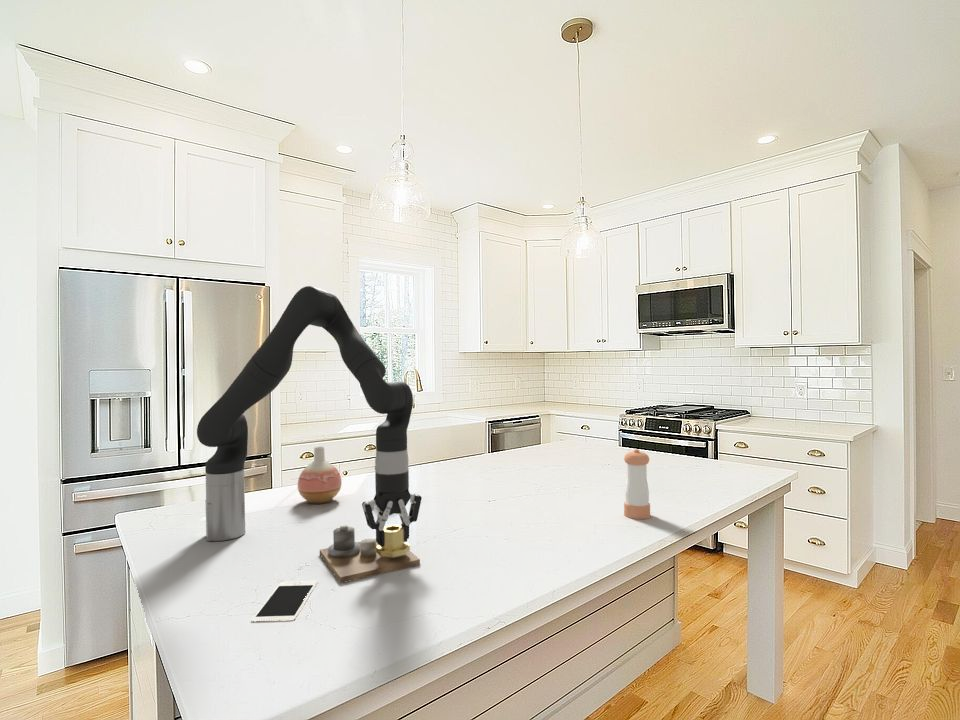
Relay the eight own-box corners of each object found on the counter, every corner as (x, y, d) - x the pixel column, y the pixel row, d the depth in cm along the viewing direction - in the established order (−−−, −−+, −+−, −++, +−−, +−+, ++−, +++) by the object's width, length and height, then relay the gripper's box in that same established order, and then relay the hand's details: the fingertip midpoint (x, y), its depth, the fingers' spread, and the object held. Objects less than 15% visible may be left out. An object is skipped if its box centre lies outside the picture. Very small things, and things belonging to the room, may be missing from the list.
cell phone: (318, 583, 110) (318, 580, 110) (294, 623, 94) (294, 619, 94) (280, 584, 109) (280, 581, 109) (250, 624, 93) (250, 620, 93)
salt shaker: (651, 519, 147) (651, 452, 147) (625, 518, 149) (624, 451, 148) (648, 512, 154) (648, 447, 154) (623, 510, 156) (622, 446, 156)
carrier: (340, 583, 109) (340, 548, 109) (319, 554, 124) (319, 524, 124) (420, 564, 118) (419, 532, 118) (391, 540, 134) (391, 512, 133)
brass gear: (383, 559, 115) (383, 535, 115) (373, 549, 121) (372, 526, 121) (413, 552, 118) (412, 530, 118) (401, 543, 124) (401, 521, 124)
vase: (314, 510, 160) (313, 452, 160) (289, 502, 168) (288, 448, 168) (350, 499, 171) (349, 446, 171) (324, 493, 179) (324, 442, 179)
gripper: (366, 476, 112) (367, 555, 113) (427, 468, 120) (428, 542, 120) (356, 469, 119) (357, 544, 119) (414, 462, 126) (415, 532, 126)
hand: (393, 542), depth 120 cm, fingers closed on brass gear, 4 cm apart
